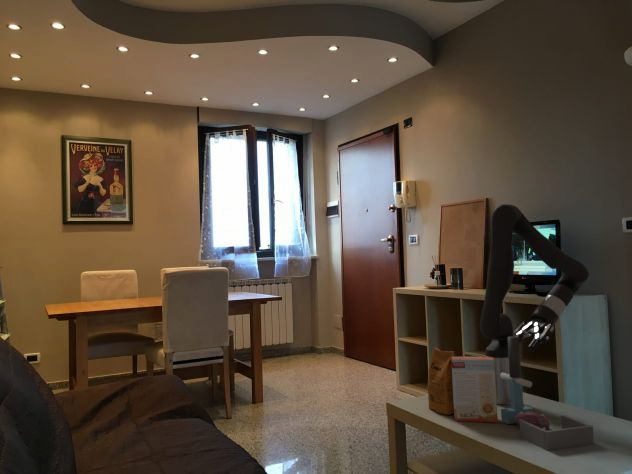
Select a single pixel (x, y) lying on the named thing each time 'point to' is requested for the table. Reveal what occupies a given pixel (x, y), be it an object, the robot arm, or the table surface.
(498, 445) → the table surface
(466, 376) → the cracker box
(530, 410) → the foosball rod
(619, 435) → the table surface
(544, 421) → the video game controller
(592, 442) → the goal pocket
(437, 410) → the coffee package
